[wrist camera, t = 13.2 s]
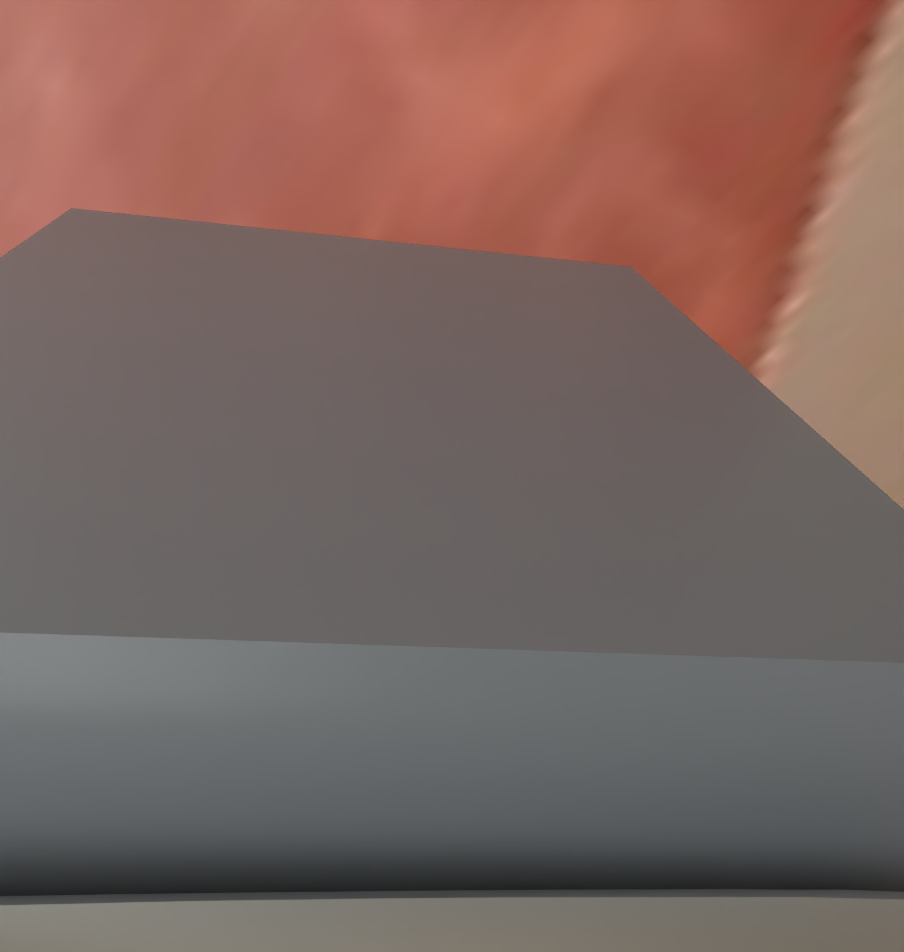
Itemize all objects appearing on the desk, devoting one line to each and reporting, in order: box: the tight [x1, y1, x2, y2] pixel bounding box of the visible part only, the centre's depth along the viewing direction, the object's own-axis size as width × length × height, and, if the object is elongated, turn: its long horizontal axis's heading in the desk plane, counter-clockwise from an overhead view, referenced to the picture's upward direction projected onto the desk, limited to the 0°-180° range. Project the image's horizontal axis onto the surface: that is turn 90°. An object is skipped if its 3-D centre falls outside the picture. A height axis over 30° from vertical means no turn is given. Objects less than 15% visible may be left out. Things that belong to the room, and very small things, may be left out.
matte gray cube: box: [0, 208, 904, 896], centre depth 10 cm, size 8×8×9 cm
